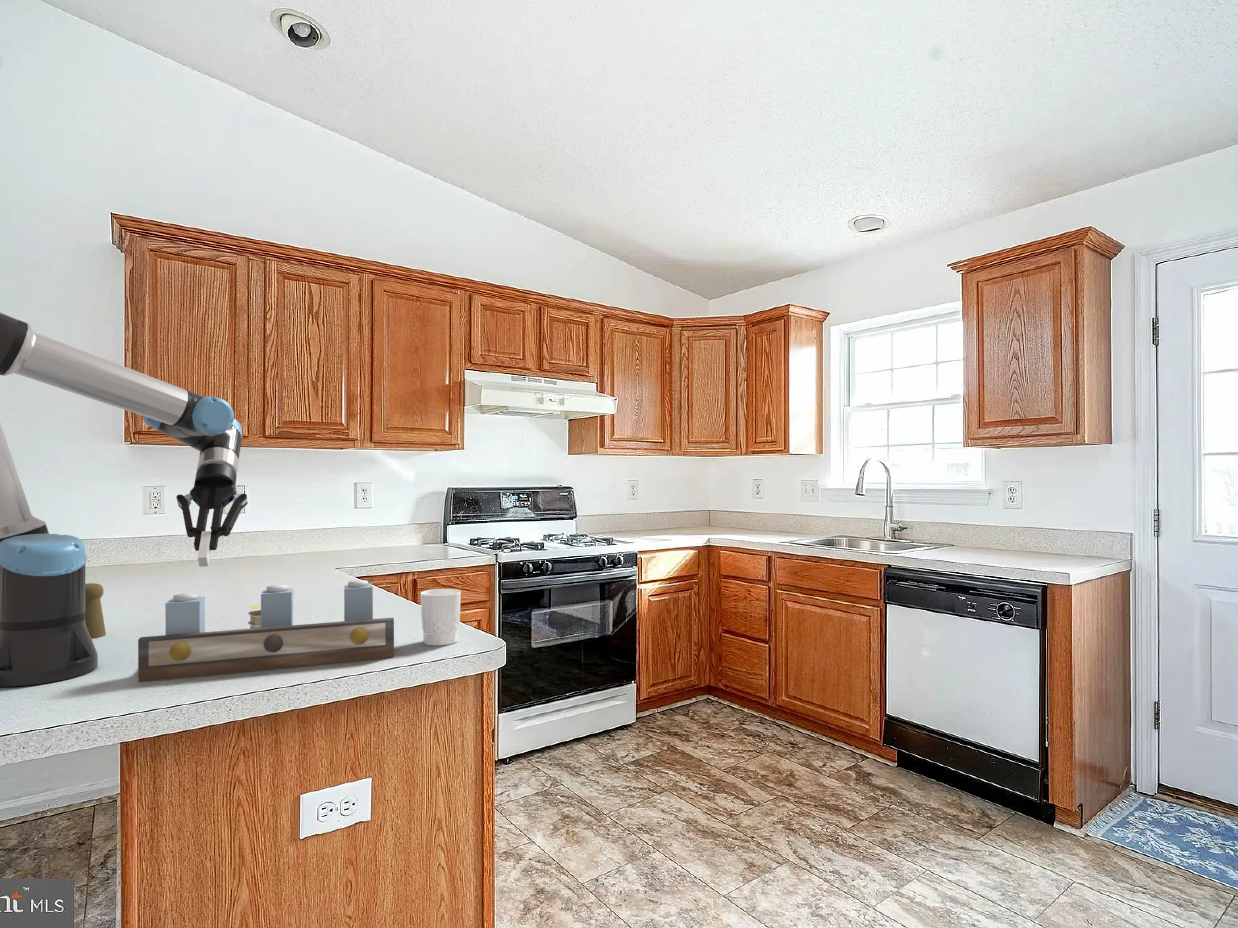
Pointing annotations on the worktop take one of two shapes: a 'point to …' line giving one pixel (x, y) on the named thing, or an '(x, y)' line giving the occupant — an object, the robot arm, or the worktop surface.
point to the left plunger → (185, 614)
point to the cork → (94, 610)
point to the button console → (263, 648)
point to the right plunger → (358, 600)
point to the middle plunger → (277, 606)
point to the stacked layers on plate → (255, 616)
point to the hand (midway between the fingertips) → (203, 561)
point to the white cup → (440, 616)
